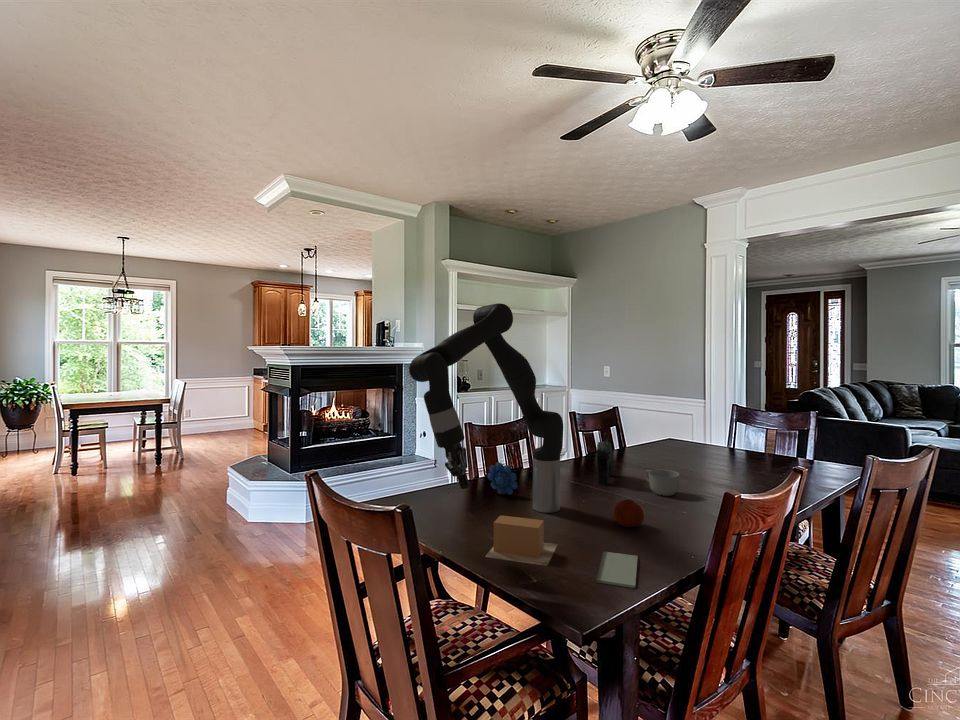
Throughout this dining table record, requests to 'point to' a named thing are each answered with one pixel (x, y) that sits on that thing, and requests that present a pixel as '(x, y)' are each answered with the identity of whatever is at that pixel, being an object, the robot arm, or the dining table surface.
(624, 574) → the mat
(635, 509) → the fruit
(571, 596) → the dining table surface
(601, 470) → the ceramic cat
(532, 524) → the block
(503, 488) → the grapes
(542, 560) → the board
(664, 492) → the teacup
